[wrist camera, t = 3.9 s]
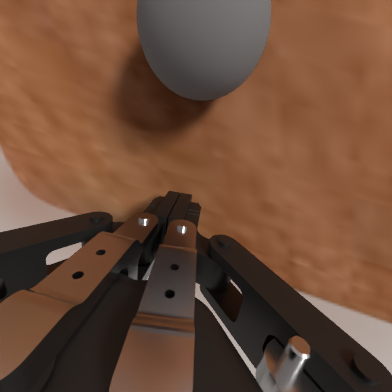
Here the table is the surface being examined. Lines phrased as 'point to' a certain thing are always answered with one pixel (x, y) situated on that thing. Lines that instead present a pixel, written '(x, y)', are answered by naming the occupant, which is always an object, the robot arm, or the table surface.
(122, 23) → the table surface
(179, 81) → the grey ball
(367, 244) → the table surface
